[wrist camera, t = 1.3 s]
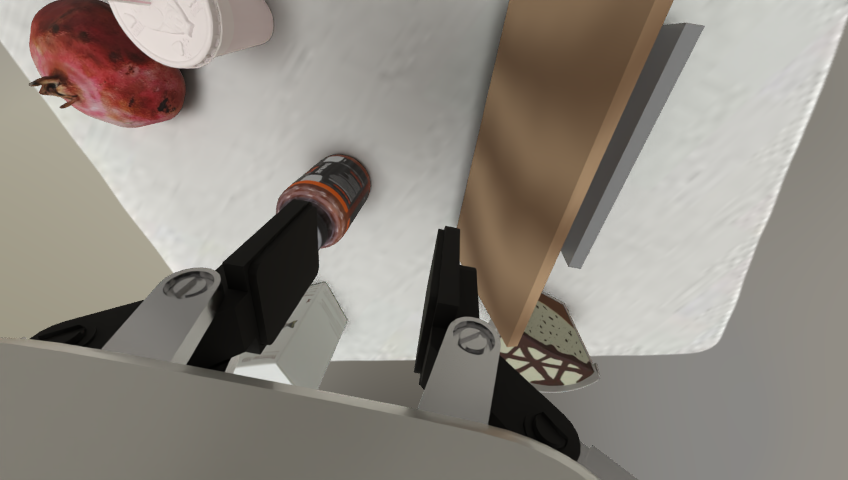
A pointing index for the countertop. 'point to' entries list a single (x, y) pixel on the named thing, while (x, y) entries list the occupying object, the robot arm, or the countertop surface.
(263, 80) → the countertop surface
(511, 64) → the lid
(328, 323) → the supplement box
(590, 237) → the bar
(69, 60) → the fruit
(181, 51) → the smoothie
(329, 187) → the supplement bottle
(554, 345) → the food container
